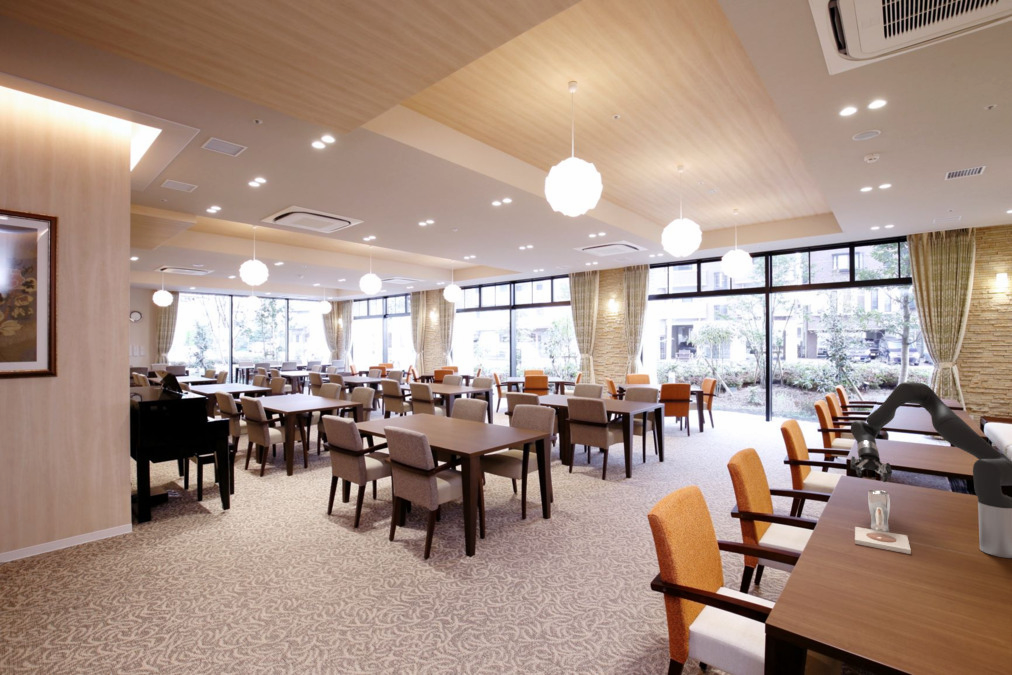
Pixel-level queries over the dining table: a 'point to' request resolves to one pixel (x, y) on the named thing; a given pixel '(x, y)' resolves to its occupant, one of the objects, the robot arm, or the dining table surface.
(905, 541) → the ceramic tile
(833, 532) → the dining table surface
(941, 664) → the dining table surface
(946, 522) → the dining table surface
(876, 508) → the shiny silver metal cup
